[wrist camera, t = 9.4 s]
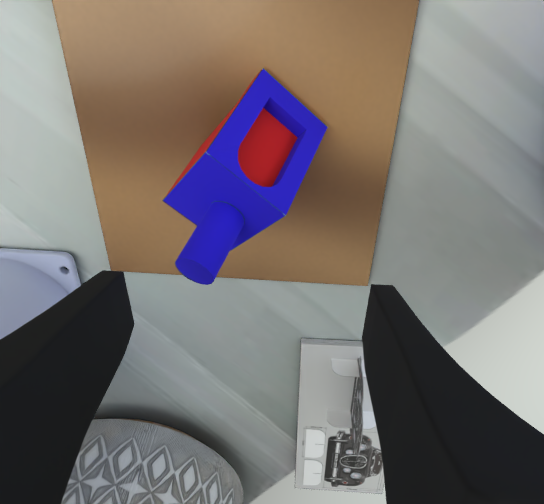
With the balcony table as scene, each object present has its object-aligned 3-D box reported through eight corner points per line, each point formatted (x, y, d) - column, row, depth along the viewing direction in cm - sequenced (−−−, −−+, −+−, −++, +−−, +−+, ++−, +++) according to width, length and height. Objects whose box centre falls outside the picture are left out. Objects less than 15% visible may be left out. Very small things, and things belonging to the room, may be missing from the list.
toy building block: (216, 123, 21) (125, 253, 16) (263, 67, 17) (164, 211, 13) (273, 170, 22) (202, 304, 17) (328, 126, 18) (257, 277, 14)
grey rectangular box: (301, 338, 26) (299, 398, 22) (413, 343, 26) (431, 406, 22) (294, 482, 34) (293, 545, 30) (381, 488, 34) (390, 552, 30)
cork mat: (366, 281, 24) (367, 286, 23) (113, 266, 24) (110, 270, 24) (421, -24, 16) (423, -25, 16) (49, -35, 17) (43, -35, 16)
